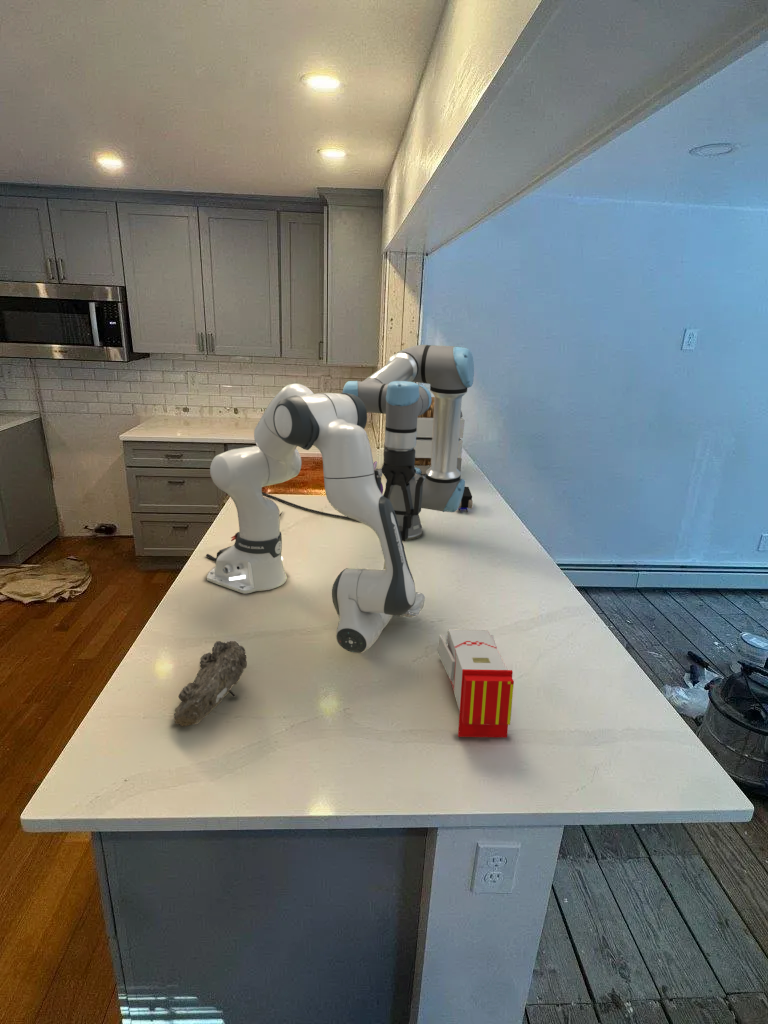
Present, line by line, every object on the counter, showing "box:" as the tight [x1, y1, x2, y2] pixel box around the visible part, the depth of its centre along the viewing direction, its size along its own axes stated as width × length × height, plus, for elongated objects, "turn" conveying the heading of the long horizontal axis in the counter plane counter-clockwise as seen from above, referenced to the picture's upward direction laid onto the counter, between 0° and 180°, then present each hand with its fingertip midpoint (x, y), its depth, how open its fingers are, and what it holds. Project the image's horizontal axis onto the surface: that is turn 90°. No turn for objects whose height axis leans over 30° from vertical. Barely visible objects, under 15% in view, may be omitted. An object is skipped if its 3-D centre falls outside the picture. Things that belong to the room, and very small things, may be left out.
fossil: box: [173, 640, 248, 727], centre depth 113 cm, size 22×10×15 cm
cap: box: [398, 525, 403, 538], centre depth 144 cm, size 5×5×2 cm
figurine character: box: [458, 486, 474, 513], centre depth 227 cm, size 7×8×15 cm
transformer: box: [383, 396, 465, 474], centre depth 268 cm, size 34×33×41 cm
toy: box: [437, 628, 515, 738], centre depth 117 cm, size 12×13×30 cm
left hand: (393, 584), depth 149 cm, fingers closed on bottle, 5 cm apart
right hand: (395, 537), depth 144 cm, fingers closed on cap, 4 cm apart
